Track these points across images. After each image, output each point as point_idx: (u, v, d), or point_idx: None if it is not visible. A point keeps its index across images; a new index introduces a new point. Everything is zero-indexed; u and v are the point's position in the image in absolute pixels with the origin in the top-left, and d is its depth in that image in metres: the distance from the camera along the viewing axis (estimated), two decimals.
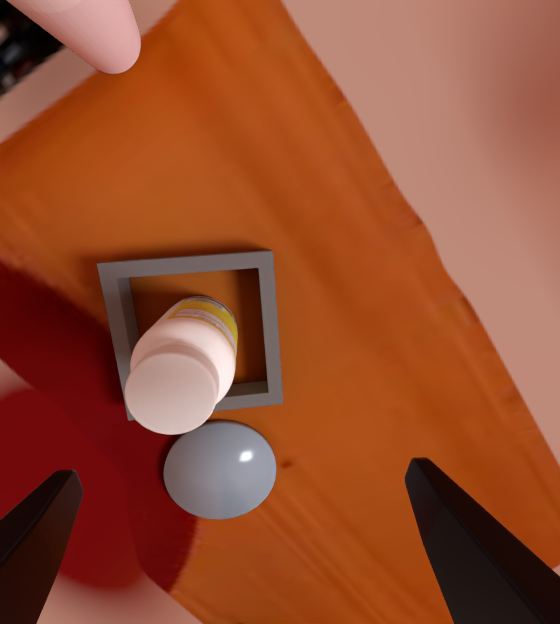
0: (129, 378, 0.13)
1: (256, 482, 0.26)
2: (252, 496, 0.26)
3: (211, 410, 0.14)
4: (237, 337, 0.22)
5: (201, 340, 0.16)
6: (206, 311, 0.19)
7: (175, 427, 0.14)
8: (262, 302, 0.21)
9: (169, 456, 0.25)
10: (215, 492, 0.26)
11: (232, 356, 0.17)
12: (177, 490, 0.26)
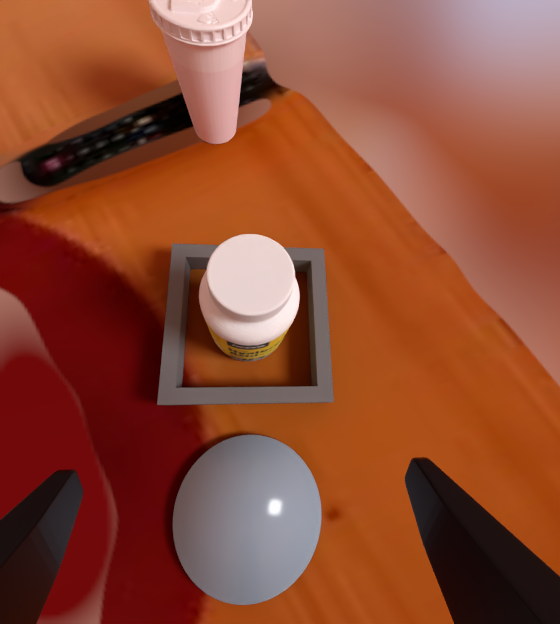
0: (215, 251, 0.14)
1: (294, 535, 0.19)
2: (288, 561, 0.19)
3: (288, 293, 0.14)
4: None
5: None
6: None
7: (250, 306, 0.14)
8: (313, 290, 0.22)
9: (187, 478, 0.19)
10: (237, 549, 0.19)
11: (298, 287, 0.17)
12: (186, 539, 0.18)
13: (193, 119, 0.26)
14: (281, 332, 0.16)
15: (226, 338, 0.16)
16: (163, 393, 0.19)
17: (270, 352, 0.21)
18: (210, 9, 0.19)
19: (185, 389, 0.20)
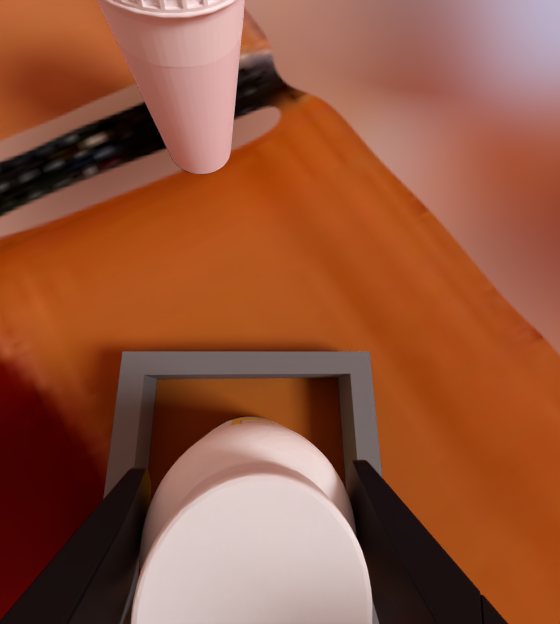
0: (160, 541, 0.05)
1: None
2: None
3: None
4: None
5: (303, 465, 0.08)
6: None
7: None
8: (356, 428, 0.14)
9: None
10: None
11: (352, 512, 0.08)
12: None
13: (164, 140, 0.17)
14: None
15: None
16: None
17: None
18: None
19: None
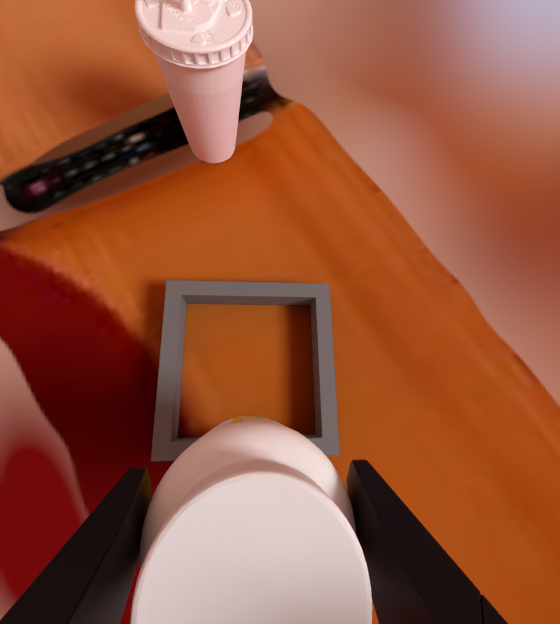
0: (160, 539, 0.05)
1: None
2: None
3: None
4: None
5: (303, 464, 0.08)
6: None
7: None
8: (318, 330, 0.21)
9: None
10: None
11: (352, 510, 0.08)
12: None
13: (189, 138, 0.24)
14: None
15: None
16: (157, 448, 0.18)
17: None
18: (206, 27, 0.17)
19: (181, 443, 0.18)
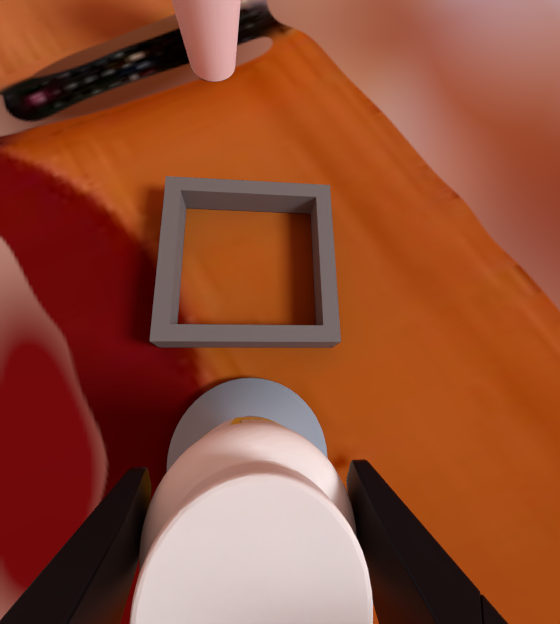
0: (159, 542, 0.05)
1: None
2: None
3: None
4: None
5: (303, 465, 0.08)
6: None
7: None
8: (319, 227, 0.21)
9: (183, 421, 0.18)
10: None
11: None
12: None
13: (189, 50, 0.24)
14: None
15: None
16: (156, 329, 0.18)
17: None
18: None
19: (180, 326, 0.18)
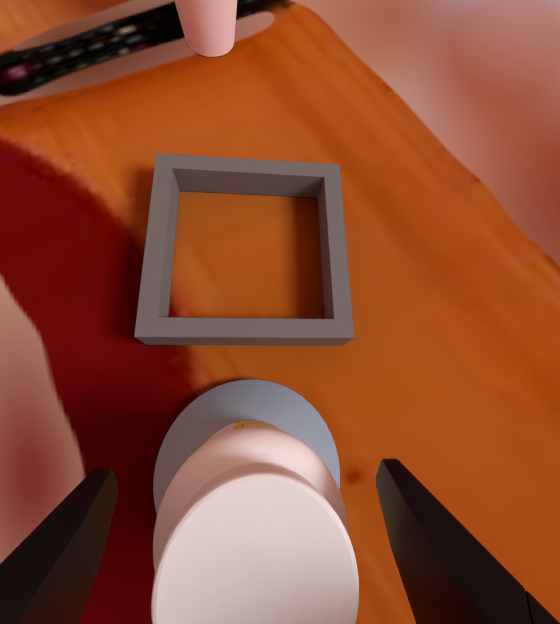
0: (175, 532, 0.06)
1: None
2: None
3: None
4: None
5: (300, 466, 0.09)
6: None
7: None
8: (327, 209, 0.19)
9: (173, 429, 0.16)
10: None
11: (344, 508, 0.09)
12: None
13: (183, 20, 0.22)
14: None
15: None
16: (142, 323, 0.16)
17: None
18: None
19: (170, 319, 0.16)
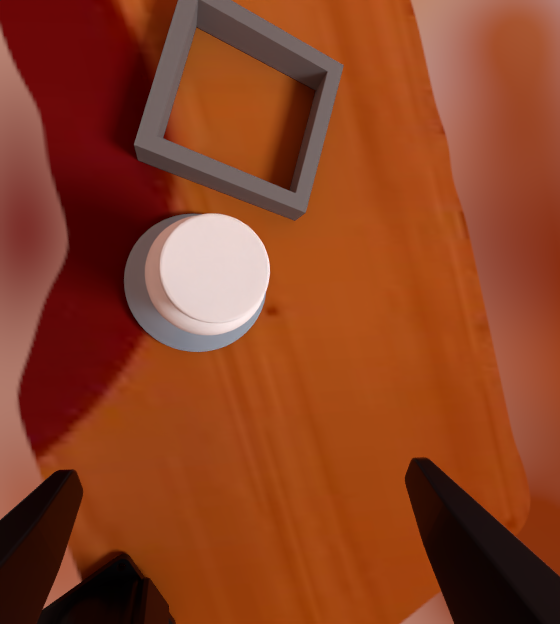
0: (179, 226, 0.11)
1: None
2: None
3: (253, 305, 0.12)
4: None
5: None
6: None
7: (204, 310, 0.11)
8: (320, 102, 0.22)
9: (148, 233, 0.20)
10: None
11: None
12: (136, 283, 0.19)
13: None
14: (232, 329, 0.14)
15: (167, 320, 0.14)
16: (142, 136, 0.18)
17: None
18: None
19: (167, 142, 0.19)
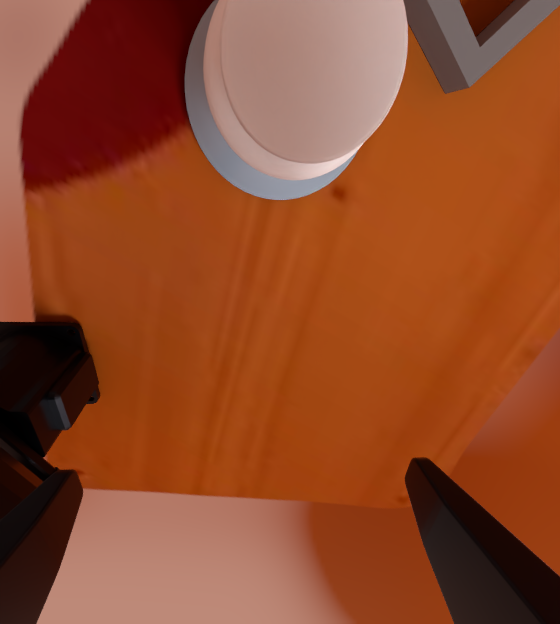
0: None
1: None
2: (275, 179, 0.17)
3: (328, 157, 0.07)
4: None
5: None
6: None
7: (259, 116, 0.07)
8: None
9: None
10: None
11: (361, 144, 0.10)
12: None
13: None
14: (282, 178, 0.10)
15: (210, 110, 0.09)
16: None
17: None
18: None
19: None
